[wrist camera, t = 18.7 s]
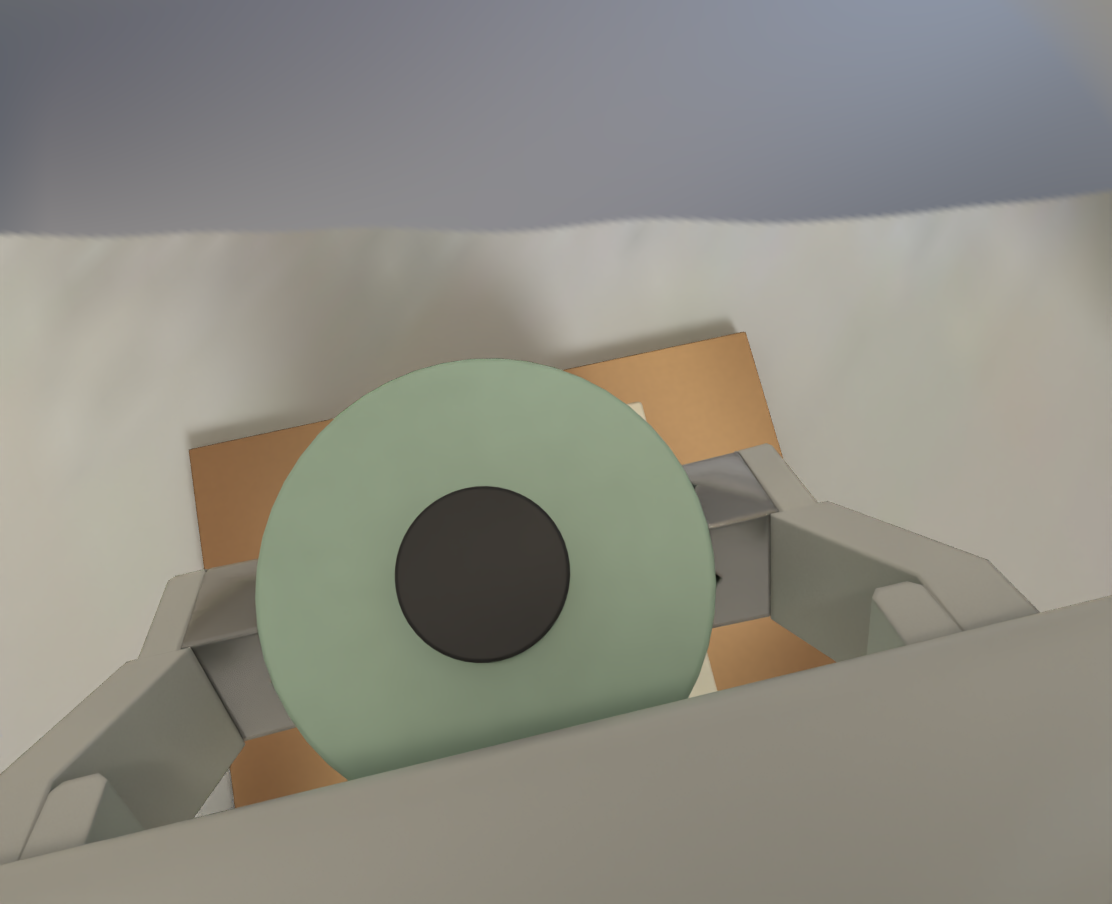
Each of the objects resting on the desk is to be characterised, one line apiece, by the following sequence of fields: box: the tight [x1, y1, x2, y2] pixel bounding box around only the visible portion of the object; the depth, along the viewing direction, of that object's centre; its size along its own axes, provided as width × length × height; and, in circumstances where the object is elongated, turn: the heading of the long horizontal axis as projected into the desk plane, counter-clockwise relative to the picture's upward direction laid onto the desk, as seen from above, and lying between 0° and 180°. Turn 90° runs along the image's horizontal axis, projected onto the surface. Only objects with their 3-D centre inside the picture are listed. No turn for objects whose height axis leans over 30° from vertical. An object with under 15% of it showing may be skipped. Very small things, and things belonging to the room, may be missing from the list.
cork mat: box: [189, 332, 836, 808], centre depth 24 cm, size 18×14×1 cm
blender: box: [255, 358, 717, 781], centre depth 16 cm, size 8×8×14 cm
